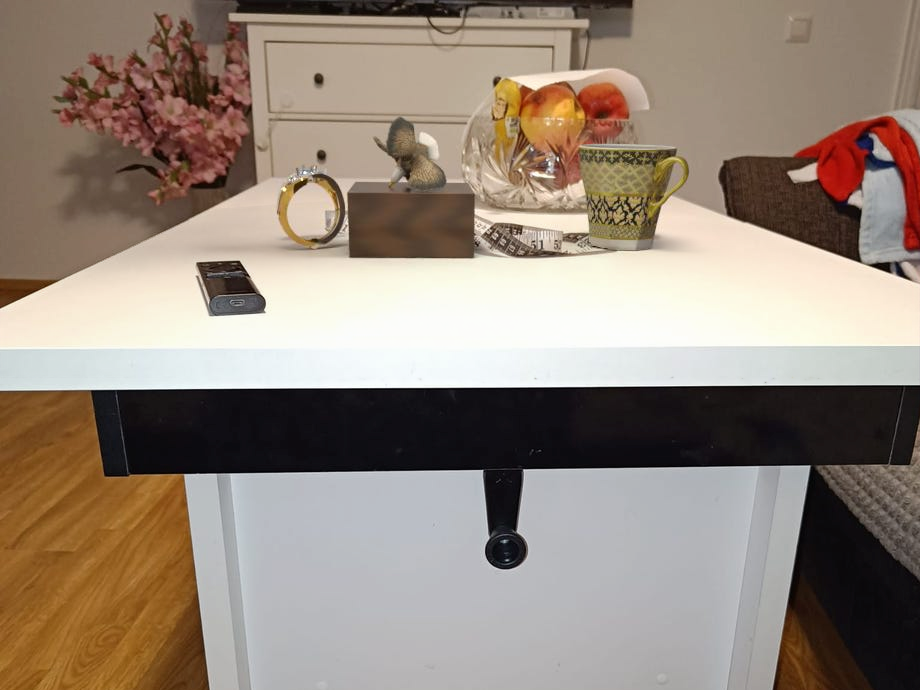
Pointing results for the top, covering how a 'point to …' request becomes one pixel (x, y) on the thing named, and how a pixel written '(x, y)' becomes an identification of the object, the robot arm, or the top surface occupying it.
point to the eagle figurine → (413, 157)
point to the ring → (292, 187)
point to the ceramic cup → (626, 191)
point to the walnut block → (411, 221)
